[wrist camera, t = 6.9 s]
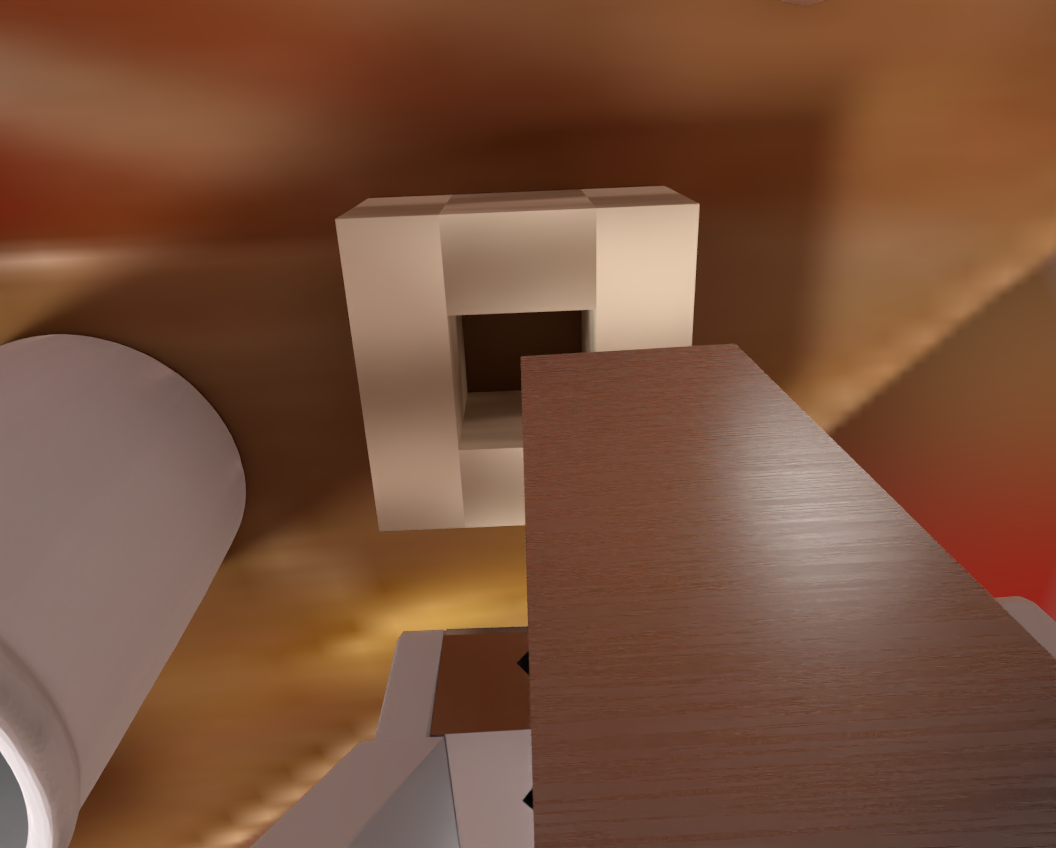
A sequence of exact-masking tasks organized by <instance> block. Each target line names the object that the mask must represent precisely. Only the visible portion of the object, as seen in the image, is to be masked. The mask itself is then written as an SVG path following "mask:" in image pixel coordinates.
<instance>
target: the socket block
mask: <svg viewBox="0 0 1056 848" xmlns="http://www.w3.org/2000/svg"><path fill="white" fill-rule="evenodd" d="M699 206H700V204H699V203H697V202H695V201H693V200H691V199H689V198H687V197H685V196H683V195H681V194H680V193H678V192H676V191H674V190H672V189H670V188H668V187H666V186H646V187H623V188H599V189H575V190H552V191H528V192H504V193H480V194H457V195H433V196H409V197H385V198H368V199H366V200H365V201H363V202H362V203H360V204H358V205H357V206H355V207H354V208H352V209H350V210H349V211H347V212H346V213H344V214H343V215H341V216H339V217H338V218H336V219H335V223H336V230H337V237H338V244H339V251H340V258H341V265H342V272H343V279H344V286H345V293H346V300H347V307H348V314H349V321H350V329H351V336H352V343H353V350H354V357H355V364H356V371H357V378H358V385H359V392H360V399H361V406H362V413H363V420H364V427H365V434H366V441H367V448H368V455H369V462H370V469H371V476H372V483H373V490H374V497H375V504H376V511H377V518H378V525H379V531H397V530H420V529H443V528H466V527H489V526H513V525H525V496H524V460H523V424H522V390H516V391H493V392H469V393H468V390H467V377H466V364H465V351H464V338H463V326H462V315H477V314H500V313H524V312H547V311H571V310H582V353H586V352H602V351H619V350H636V349H652V348H669V347H686V346H692V332H693V314H694V296H695V278H696V260H697V242H698V224H699Z"/></svg>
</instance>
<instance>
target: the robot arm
mask: <svg viewBox="0 0 1056 848" xmlns="http://www.w3.org/2000/svg"><path fill="white" fill-rule="evenodd" d="M994 599H995V600H996V601H997V602H998V603H999V604H1000V605H1001V606H1002V607H1003V608H1004V609H1005V610H1006V611H1007V612H1008V613H1009V614H1010V615H1011V616H1012V617H1013V618H1014V619H1015V620H1016V621H1017V622H1018V623H1019V624H1020V625H1021V626H1022V627H1024V628H1025V629H1026V630H1027V631H1028V632H1029V633H1030V634H1031V635H1032V636H1033V637H1034V638H1035V639H1036V640H1037V641H1038V642H1039V643H1040V644H1041V645H1042V646H1043V647H1044V648H1045V649H1046V650H1047V651H1048V652H1049V653H1050V654H1051V655H1052V656H1053V657H1054V658H1055V659H1056V622H1054V620H1052V619H1051V618H1050V617H1049V616H1048V615H1047V614H1046V613H1045V612H1044V611H1043V610H1041V609H1040V608H1039V607H1038V606H1037V605H1036V604H1035V603H1034V602H1032V601H1030V600H1027V599H1025V598H1022V597H1020V596H1016V597H1004V598H994ZM250 848H534V815H533V780H532V744H531V709H530V673H529V638H528V626H527V627H498V628H468V629H447V630H446V631H445V630H427V631H405V632H403V633H402V634H401V636H400V637H399V639H398V641H397V645H396V649H395V653H394V658H393V662H392V666H391V671H390V675H389V679H388V684H387V688H386V692H385V696H384V701H383V705H382V709H381V714H380V718H379V722H378V727H377V731H376V735H375V739H374V740H371V741H360V742H359V743H358V744H357V745H356V746H355V747H354V748H353V749H352V750H351V751H350V752H349V753H348V754H347V755H346V756H345V757H344V758H343V759H342V760H341V761H339V762H338V763H337V764H336V765H335V766H334V767H333V768H332V769H331V770H330V771H329V772H328V773H327V774H326V775H325V776H324V777H323V778H322V779H321V780H320V781H319V782H318V783H317V784H316V785H314V786H313V787H312V788H311V789H310V790H309V791H308V792H307V793H306V794H305V795H304V796H303V797H302V798H301V799H300V800H299V801H298V802H297V803H296V804H295V805H294V806H293V807H292V808H291V809H290V810H288V811H287V812H286V813H285V814H284V815H283V816H282V817H281V818H280V819H279V820H278V821H277V822H276V823H275V824H274V825H273V826H272V827H271V828H270V829H269V830H268V831H267V832H266V833H265V834H263V835H262V836H261V837H260V838H259V839H258V840H257V841H256V842H255V843H254V844H253V845H252V846H251V847H250Z"/></svg>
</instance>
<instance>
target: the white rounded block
mask: <svg viewBox="0 0 1056 848" xmlns="http://www.w3.org/2000/svg"><path fill="white" fill-rule="evenodd" d="M780 1H782V2H785V3H790V4H795V5H809V4H816V3H820V2H824V1H827V0H780Z"/></svg>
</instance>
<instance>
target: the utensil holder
mask: <svg viewBox="0 0 1056 848" xmlns="http://www.w3.org/2000/svg"><path fill="white" fill-rule="evenodd" d="M245 501H246V482H245V475H244V470H243V467H242V463H241V459H240V455H239V452H238V450H237V447H236V445H235V443H234V440H233V438H232V436H231V434H230V432H229V431H228V429H227V427H226V425H225V424H224V422H223V421H222V419H221V418H220V416H219V415H218V413H217V412H216V411H215V410H214V408H213V407H212V406H211V405H210V403H209V402H208V401H207V400H206V399H205V398H204V397H203V396H202V395H201V394H200V393H199V392H198V391H197V390H196V389H195V388H194V387H193V386H192V385H191V384H190V383H189V382H188V381H186V380H185V379H184V378H183V377H181V376H180V375H179V374H177V373H176V372H174V371H173V370H171V369H170V368H168V367H167V366H165V365H164V364H162V363H161V362H159V361H157V360H156V359H154V358H152V357H150V356H148V355H146V354H144V353H141V352H139V351H137V350H134V349H132V348H130V347H127V346H124V345H121V344H118V343H115V342H111V341H107V340H103V339H99V338H95V337H88V336H81V335H69V334H52V335H42V336H34V337H29V338H24V339H20V340H16V341H13V342H10V343H7V344H4V345H1V346H0V848H68V846H69V844H70V841H71V839H72V836H73V834H74V830H75V826H76V822H77V818H78V814H79V810H80V809H81V807H82V805H83V804H84V802H85V800H86V799H87V797H88V795H89V794H90V792H91V790H92V789H93V787H94V785H95V784H96V782H97V780H98V779H99V777H100V775H101V774H102V772H103V770H104V769H105V767H106V765H107V763H108V762H109V760H110V758H111V757H112V755H113V753H114V752H115V750H116V748H117V746H118V745H119V743H120V741H121V739H122V738H123V736H124V734H125V733H126V731H127V729H128V727H129V726H130V724H131V722H132V720H133V719H134V717H135V715H136V713H137V712H138V710H139V708H140V706H141V705H142V703H143V701H144V700H145V698H146V696H147V694H148V693H149V691H150V689H151V688H152V686H153V684H154V683H155V681H156V679H157V677H158V676H159V674H160V672H161V671H162V669H163V667H164V666H165V664H166V662H167V660H168V659H169V657H170V655H171V654H172V652H173V650H174V649H175V647H176V645H177V643H178V642H179V640H180V638H181V636H182V634H183V633H184V631H185V629H186V627H187V626H188V624H189V622H190V620H191V618H192V617H193V615H194V613H195V611H196V610H197V608H198V606H199V604H200V603H201V601H202V599H203V597H204V596H205V594H206V592H207V590H208V588H209V586H210V584H211V582H212V580H213V578H214V576H215V574H216V573H217V571H218V569H219V567H220V565H221V563H222V561H223V559H224V558H225V556H226V554H227V552H228V550H229V548H230V546H231V544H232V542H233V540H234V538H235V535H236V533H237V531H238V529H239V526H240V524H241V521H242V517H243V513H244V509H245Z"/></svg>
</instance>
